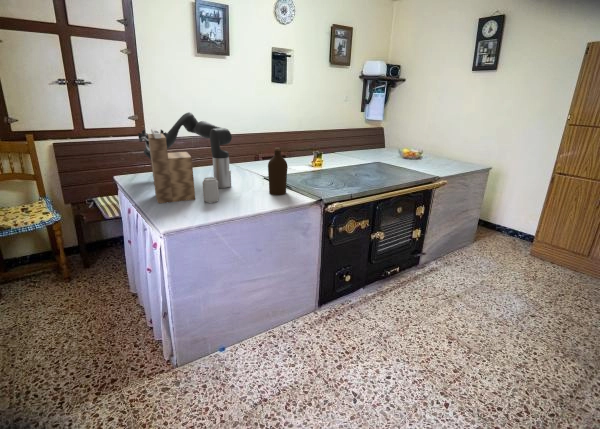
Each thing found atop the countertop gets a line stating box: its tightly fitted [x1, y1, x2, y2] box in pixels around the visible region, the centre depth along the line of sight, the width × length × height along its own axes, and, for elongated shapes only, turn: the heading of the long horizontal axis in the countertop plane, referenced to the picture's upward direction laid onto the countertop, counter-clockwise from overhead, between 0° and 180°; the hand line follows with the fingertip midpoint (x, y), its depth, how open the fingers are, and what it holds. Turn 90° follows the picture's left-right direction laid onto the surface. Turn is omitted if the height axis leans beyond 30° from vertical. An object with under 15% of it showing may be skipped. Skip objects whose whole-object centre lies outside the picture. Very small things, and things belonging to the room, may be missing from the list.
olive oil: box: [267, 147, 288, 196], centre depth 187 cm, size 11×11×25 cm
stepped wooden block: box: [147, 133, 196, 204], centre depth 175 cm, size 18×16×32 cm
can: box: [202, 176, 220, 204], centre depth 173 cm, size 8×8×12 cm
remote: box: [150, 127, 161, 138], centre depth 169 cm, size 3×26×2 cm, turn 26°
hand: (152, 131), depth 180 cm, fingers open, 8 cm apart
